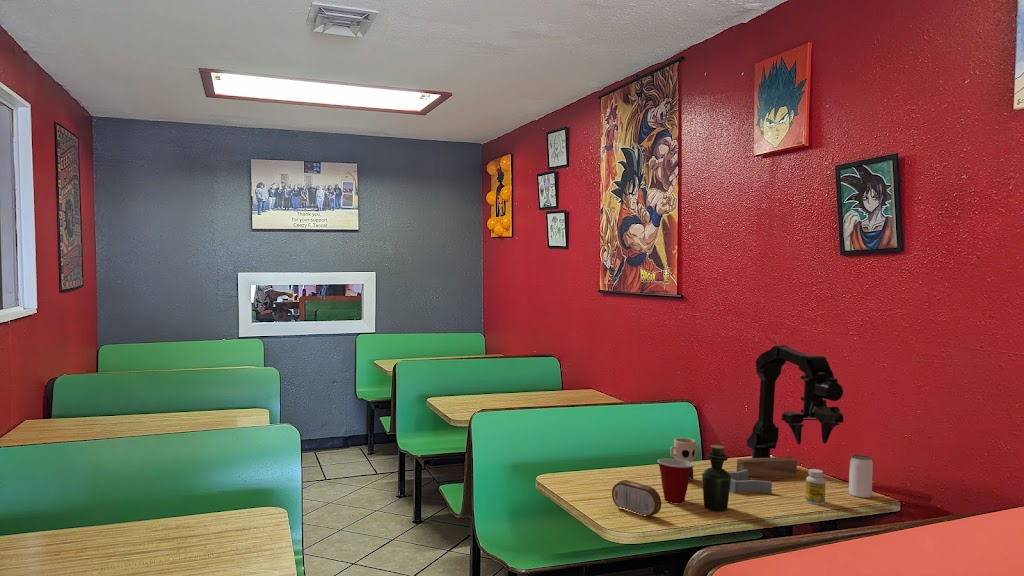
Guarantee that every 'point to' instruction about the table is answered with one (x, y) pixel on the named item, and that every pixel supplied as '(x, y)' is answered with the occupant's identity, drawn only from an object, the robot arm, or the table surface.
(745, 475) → the grey stepped block
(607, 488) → the table surface
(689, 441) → the character mug
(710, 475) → the potion bottle
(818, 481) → the supplement bottle
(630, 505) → the tin
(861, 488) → the can
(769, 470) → the walnut slat
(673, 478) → the plastic cup
